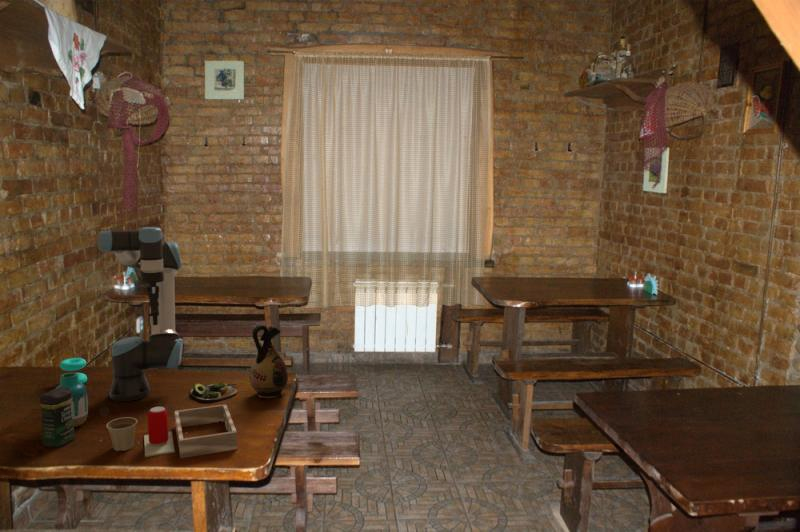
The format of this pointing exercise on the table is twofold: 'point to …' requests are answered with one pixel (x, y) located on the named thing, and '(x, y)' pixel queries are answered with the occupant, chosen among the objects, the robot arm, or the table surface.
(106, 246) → the robot arm
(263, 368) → the ceramic jug
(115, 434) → the flower pot
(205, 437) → the frame
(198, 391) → the salad plate
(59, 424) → the coffee jar
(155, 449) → the mat
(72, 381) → the vase
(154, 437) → the beverage can
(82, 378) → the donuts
